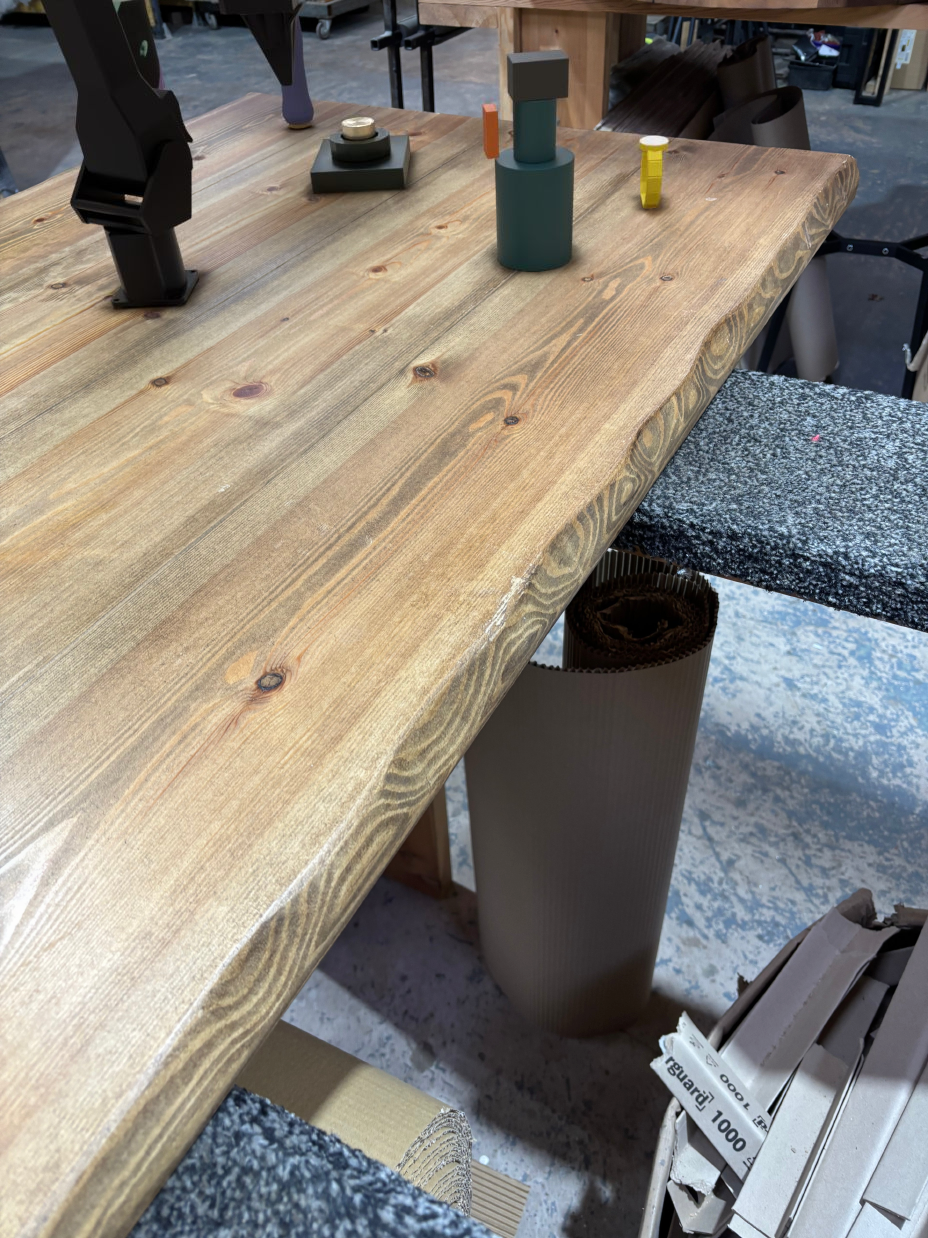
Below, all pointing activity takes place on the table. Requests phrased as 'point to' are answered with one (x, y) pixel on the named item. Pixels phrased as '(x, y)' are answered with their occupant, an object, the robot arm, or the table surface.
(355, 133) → the button
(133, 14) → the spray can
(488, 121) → the block
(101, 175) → the robot arm
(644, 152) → the watch
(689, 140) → the table surface
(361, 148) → the switch block
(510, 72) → the spray bottle
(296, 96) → the purple vase
